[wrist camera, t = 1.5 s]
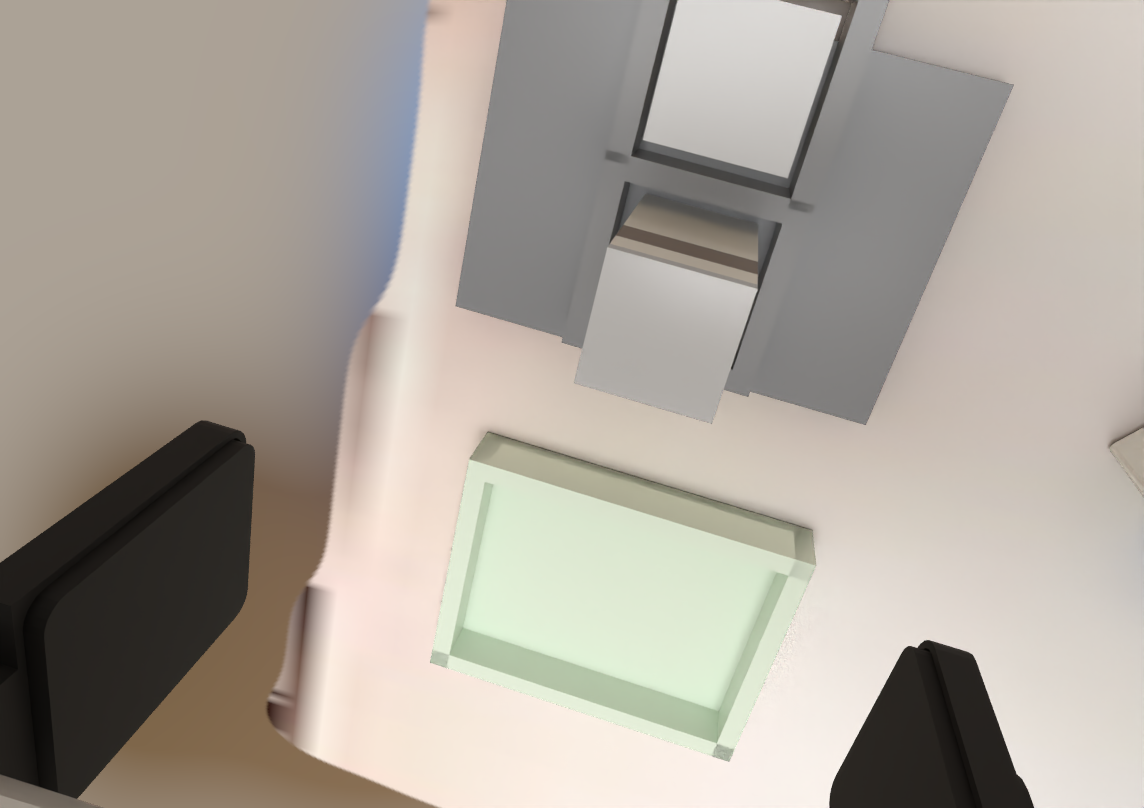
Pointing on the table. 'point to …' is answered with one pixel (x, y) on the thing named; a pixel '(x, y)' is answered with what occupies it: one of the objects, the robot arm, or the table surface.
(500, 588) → the parts tray
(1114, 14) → the table surface
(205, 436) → the robot arm
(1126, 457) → the ink box
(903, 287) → the block
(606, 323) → the grey rectangular block
